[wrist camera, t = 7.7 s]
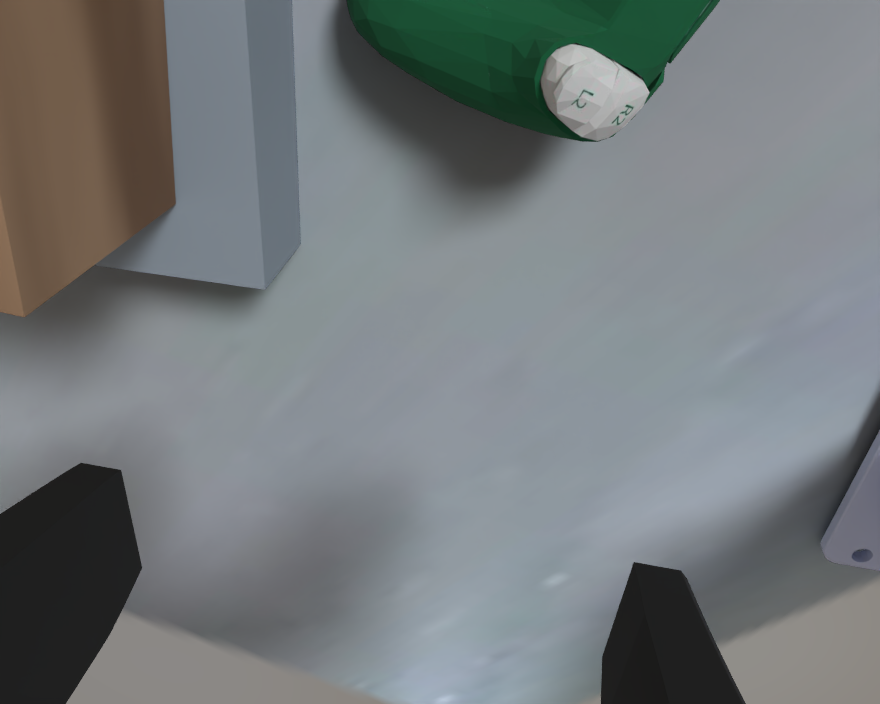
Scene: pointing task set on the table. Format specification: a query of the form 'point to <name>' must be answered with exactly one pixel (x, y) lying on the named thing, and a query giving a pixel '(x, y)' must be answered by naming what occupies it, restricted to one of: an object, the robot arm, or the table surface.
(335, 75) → the table surface
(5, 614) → the robot arm
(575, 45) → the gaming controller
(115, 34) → the walnut block
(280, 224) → the slate block
